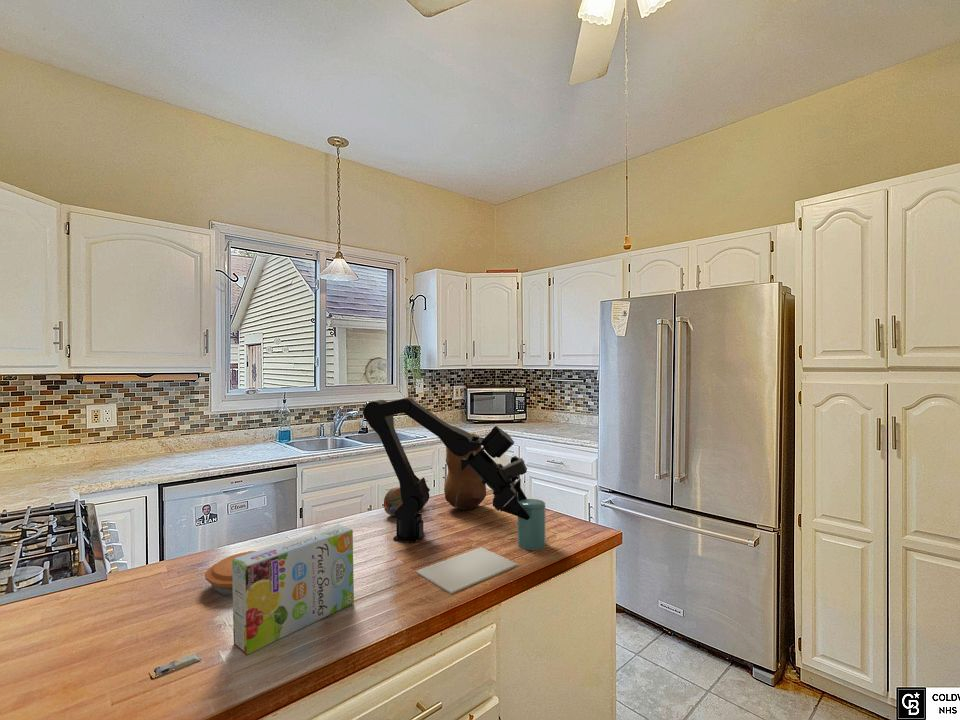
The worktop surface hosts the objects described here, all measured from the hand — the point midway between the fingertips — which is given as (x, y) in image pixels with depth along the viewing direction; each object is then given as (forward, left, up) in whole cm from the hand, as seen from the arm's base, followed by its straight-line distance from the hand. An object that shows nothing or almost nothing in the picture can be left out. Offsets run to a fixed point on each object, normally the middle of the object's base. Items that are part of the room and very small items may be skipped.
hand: (529, 512), depth 123 cm
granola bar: (-41, -67, -9) cm, 79 cm away
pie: (-53, -42, -9) cm, 68 cm away
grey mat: (-10, -19, -8) cm, 23 cm away
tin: (-44, +11, -9) cm, 46 cm away
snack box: (-31, -50, -9) cm, 60 cm away
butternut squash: (-27, +21, -9) cm, 35 cm away
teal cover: (+1, 0, -8) cm, 8 cm away
